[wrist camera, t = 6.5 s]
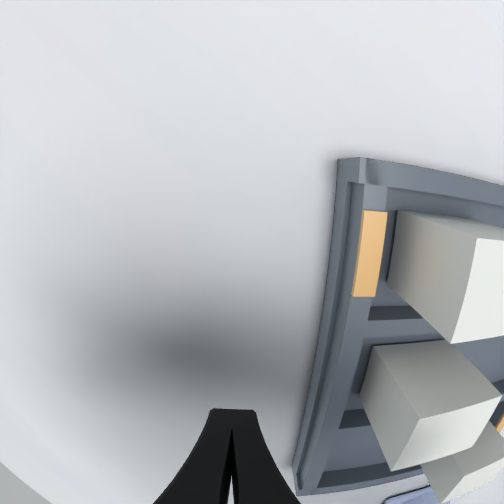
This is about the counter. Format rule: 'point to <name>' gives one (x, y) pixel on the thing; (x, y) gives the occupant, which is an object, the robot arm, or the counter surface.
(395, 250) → the off-white plastic block
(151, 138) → the counter surface
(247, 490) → the robot arm
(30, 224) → the counter surface
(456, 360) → the off-white block
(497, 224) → the grey divided tray
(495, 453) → the pale grey block
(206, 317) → the counter surface
